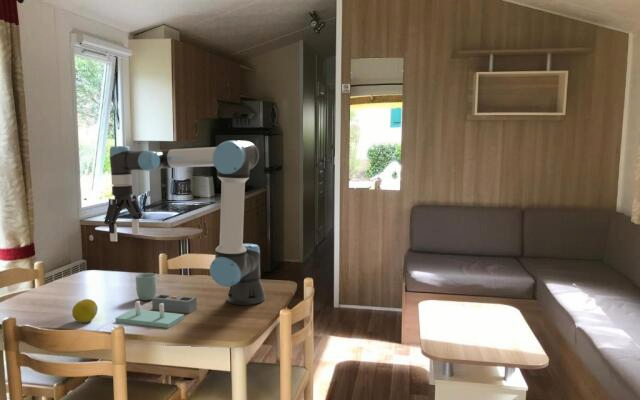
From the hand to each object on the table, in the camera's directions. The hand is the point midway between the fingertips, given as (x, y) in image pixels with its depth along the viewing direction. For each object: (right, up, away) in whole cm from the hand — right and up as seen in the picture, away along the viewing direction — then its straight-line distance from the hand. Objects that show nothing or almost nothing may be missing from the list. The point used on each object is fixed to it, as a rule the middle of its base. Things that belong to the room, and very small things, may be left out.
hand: (125, 237), depth 208 cm
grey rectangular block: (+22, -27, -8) cm, 36 cm away
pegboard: (+16, -29, -19) cm, 38 cm away
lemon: (-7, -29, -20) cm, 36 cm away
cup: (+7, -26, +5) cm, 27 cm away
